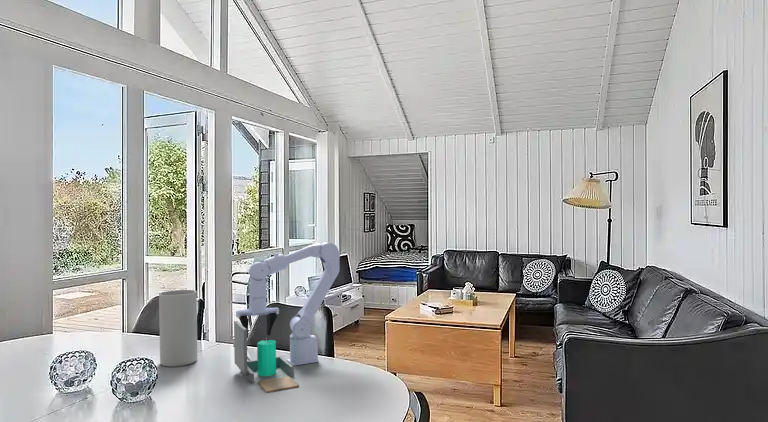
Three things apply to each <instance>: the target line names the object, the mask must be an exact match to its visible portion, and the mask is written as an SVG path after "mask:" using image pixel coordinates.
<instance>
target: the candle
mask: <svg viewBox="0 0 768 422" xmlns="http://www.w3.org/2000/svg"><path fill="white" fill-rule="evenodd" d="M265 339H266V340H263V339H262V340H260V341H258V342H257V343H256V347H257V348H256V350H257V351H256V352H257V356H256V357H257V359H256V360H257V364H258V369H257V375H258V376H260V377H270V376H271V377H272V376H275V375H276V374H277V366H276V357H277V346H276V345H277V341H276V340H275V339H269V340H267V337H266V338H265Z"/></svg>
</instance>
